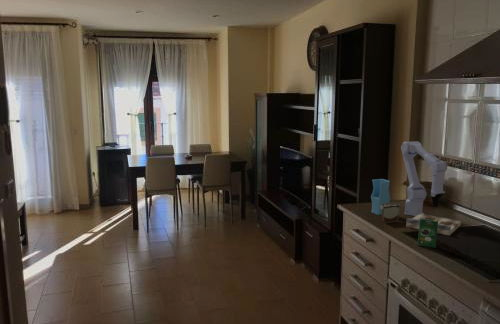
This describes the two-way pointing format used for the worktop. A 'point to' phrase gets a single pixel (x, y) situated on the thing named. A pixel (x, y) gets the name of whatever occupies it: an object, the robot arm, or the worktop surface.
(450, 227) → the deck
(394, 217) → the food container
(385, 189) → the vase
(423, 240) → the coffee box
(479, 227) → the worktop surface
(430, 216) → the block
